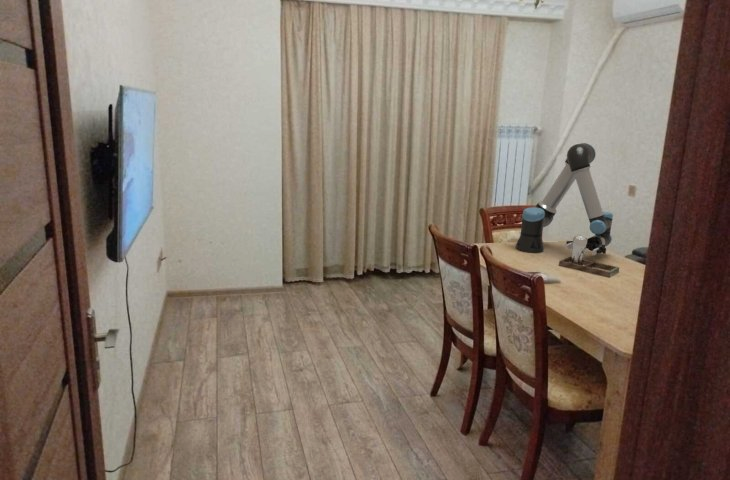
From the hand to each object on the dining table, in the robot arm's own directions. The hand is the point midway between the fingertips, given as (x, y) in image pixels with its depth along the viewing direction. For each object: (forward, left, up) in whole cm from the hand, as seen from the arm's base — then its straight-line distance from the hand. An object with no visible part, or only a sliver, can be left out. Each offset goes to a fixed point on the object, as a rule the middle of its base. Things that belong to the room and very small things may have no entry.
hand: (579, 249), depth 259 cm
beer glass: (-1, +1, -9) cm, 9 cm away
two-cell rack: (+5, +1, -9) cm, 10 cm away
